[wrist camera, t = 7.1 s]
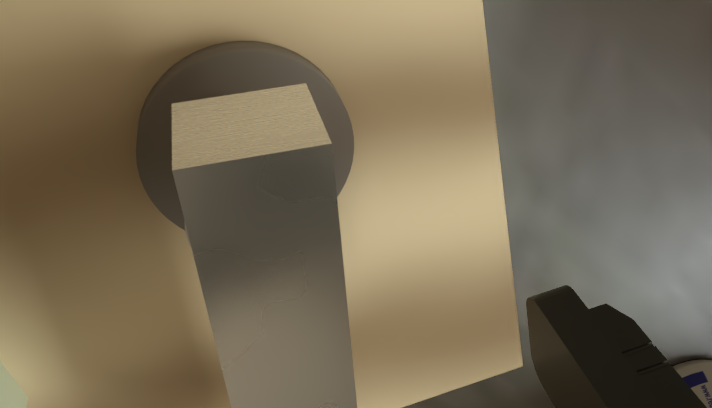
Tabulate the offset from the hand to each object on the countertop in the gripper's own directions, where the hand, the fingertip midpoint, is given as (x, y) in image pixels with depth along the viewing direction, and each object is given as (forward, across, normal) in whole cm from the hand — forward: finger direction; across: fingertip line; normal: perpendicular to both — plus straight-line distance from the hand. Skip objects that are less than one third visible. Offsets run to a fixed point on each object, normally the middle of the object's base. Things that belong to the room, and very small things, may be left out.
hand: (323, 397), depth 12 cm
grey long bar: (+3, 0, -1) cm, 3 cm away
